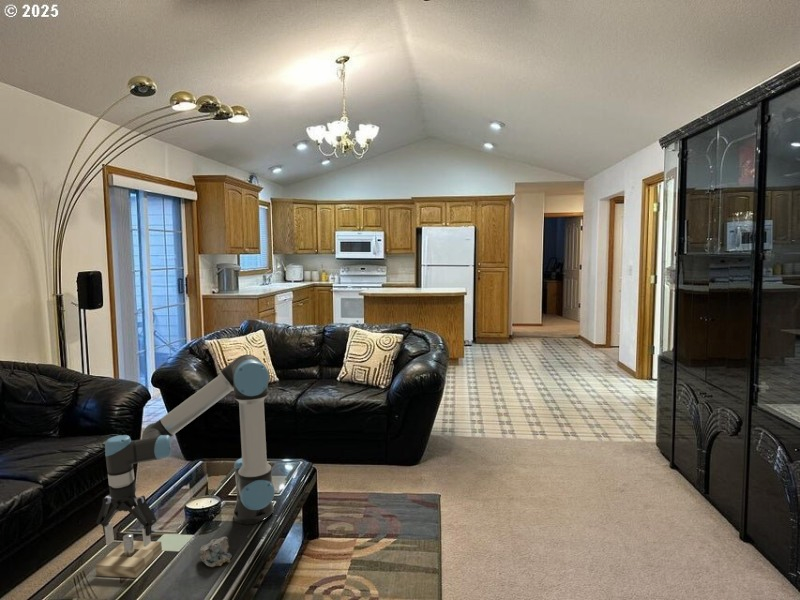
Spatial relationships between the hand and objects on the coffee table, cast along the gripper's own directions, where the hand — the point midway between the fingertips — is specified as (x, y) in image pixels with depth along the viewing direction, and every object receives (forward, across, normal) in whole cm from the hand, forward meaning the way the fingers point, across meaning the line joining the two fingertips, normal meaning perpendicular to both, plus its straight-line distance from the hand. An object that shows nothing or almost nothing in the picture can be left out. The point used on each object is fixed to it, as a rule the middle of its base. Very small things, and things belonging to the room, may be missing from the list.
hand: (128, 543), depth 170 cm
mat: (+7, -7, -12) cm, 16 cm away
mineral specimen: (+8, -28, -4) cm, 29 cm away
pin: (+7, 0, 0) cm, 7 cm away
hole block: (+7, 0, 0) cm, 7 cm away
